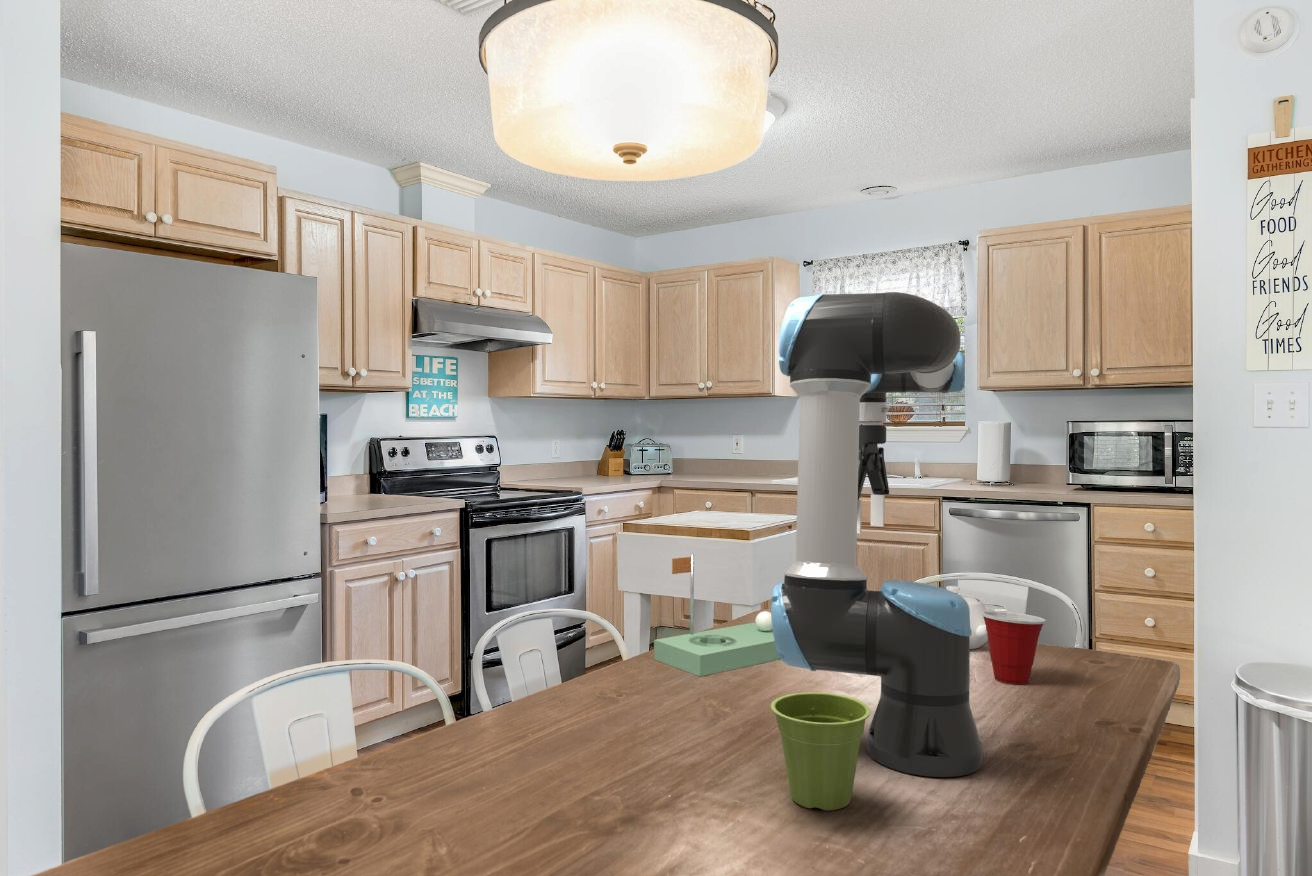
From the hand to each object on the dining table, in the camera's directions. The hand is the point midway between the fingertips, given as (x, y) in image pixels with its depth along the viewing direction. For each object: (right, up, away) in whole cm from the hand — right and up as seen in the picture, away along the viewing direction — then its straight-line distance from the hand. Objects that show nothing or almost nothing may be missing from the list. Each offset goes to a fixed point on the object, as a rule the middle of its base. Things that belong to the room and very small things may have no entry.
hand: (866, 529), depth 172 cm
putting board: (-26, -25, -2) cm, 36 cm away
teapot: (+21, -25, +7) cm, 33 cm away
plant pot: (-23, -26, -69) cm, 77 cm away
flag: (-37, -21, -3) cm, 43 cm away
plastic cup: (+22, -25, -18) cm, 38 cm away
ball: (-20, -19, +2) cm, 28 cm away
